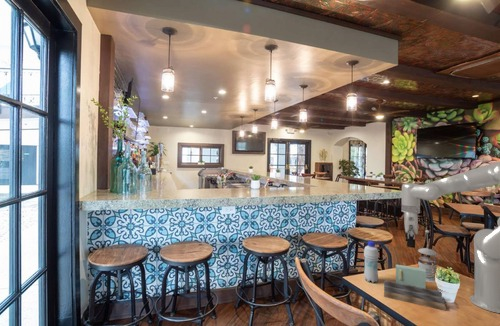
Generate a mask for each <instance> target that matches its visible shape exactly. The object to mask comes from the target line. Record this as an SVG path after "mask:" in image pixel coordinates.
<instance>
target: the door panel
mask: <svg viewBox="0 0 500 326" xmlns="http://www.w3.org/2000/svg"><path fill="white" fill-rule="evenodd" d="M395 282H396V283H401V284H406V285H411V286H416V287H421V288H426V285H427V284H426V271H425V269H420V268H418V267H413V266H407V265H404V264H403V265H401V264H395ZM426 289H427V288H426Z"/></svg>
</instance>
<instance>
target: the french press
mask: <svg viewBox="0 0 500 326" xmlns="http://www.w3.org/2000/svg"><path fill="white" fill-rule="evenodd" d="M424 232H425V233H426V243H427V244H426V247H422V248H418V249H417V251H418V252H419V253H420V254H422V255H426V256H420V257H419V258H418V263H417V268H420V269H425V271H426V282H427V283H431V282H432V284H433V283H435V273H436V274H437V272H436V271H437V267H438V265H439V262H437V263H436V261H437V260H436V259H435V258H436V257H437V259H439V255H438V252H436V251H435V250H433V249H432V248H429V247H428V246H429V245H428V243H429V241H428V238H429V233H430V230H428V229H426V230H425V231H424ZM428 256H431V258H430V257H428ZM432 257H434V258H432ZM435 284H436V283H435Z"/></svg>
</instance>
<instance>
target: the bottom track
mask: <svg viewBox="0 0 500 326" xmlns="http://www.w3.org/2000/svg"><path fill="white" fill-rule="evenodd" d="M383 283H384V285H383V296H384V298H389V299H393V300H396V301H401V302H406V303H409V304H414V305H419V306H424V307H428V308H432V309H436V310H441V311H446V310H447V309H446V308H447V307H446V305H445V301H446V300H445V298H444V297H443V293H441V292H442V291H441V292H439V291H440V290H436V289H430V288H421V287H416V286H411V285H406V284H401V283H396V281H390V280H387V279H386V280H384V281H383Z"/></svg>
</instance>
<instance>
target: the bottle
mask: <svg viewBox="0 0 500 326" xmlns="http://www.w3.org/2000/svg"><path fill="white" fill-rule="evenodd" d="M363 256H364V271H363V276H364V277H363V278H364V279H365V281H367V282H369V283H370V281H371V283H372V284H373V283H377V281H378V279H379V271H378V267H379V266H378V263H379V262H378V259H379V249H378V247H376V243H375V241H373V240H372V241H371V240H369V241H367V245H366V246H365V247H364V249H363Z"/></svg>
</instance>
